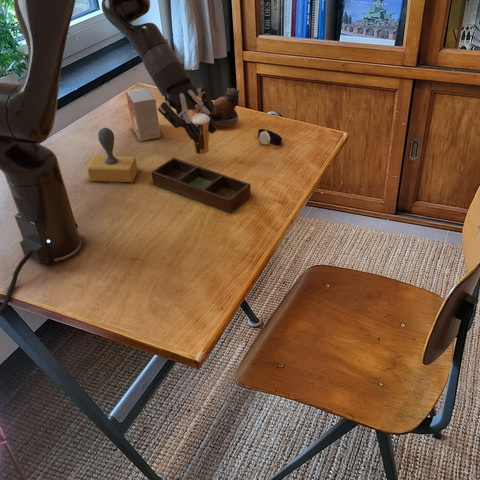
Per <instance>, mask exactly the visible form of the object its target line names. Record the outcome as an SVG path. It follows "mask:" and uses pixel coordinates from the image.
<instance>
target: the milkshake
mask: <svg viewBox="0 0 480 480" xmlns="http://www.w3.org/2000/svg"><path fill="white" fill-rule="evenodd" d="M202 108H203V106H202ZM189 119H190V123H192V124H193V125H194V127H195V129H196V130H197V132H198V134H199V135H200V138H199V139H198V140H197V141H193V140H192V143H193V149H194V152H195V153H196V154H198V155H205V154H208V153H209V150H210V148H209V147H210V132H209V124H210V118H209V116H207V115H206V114H203V111H202V110H201V113H194V114H192V115H191V116H189Z"/></svg>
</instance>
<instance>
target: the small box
mask: <svg viewBox="0 0 480 480" xmlns="http://www.w3.org/2000/svg"><path fill="white" fill-rule="evenodd" d="M125 95H126V101H127V105H128V111H129V112H128V113H129V117H130V122H131V127H132V130H133V131H134V133H135V135H136V136H137V138H138V140H139V142H143V141H149V140H153V139H158V138H161V137H162V136H161V130H160V122H159V114H158V108H157V101H156V98H155V96H153V94H152V93H151V91H150V90H149V88H148V87H146V86H145V87H140V88H135V89H134V88H133V89H128V90H125Z"/></svg>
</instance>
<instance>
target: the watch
mask: <svg viewBox="0 0 480 480" xmlns="http://www.w3.org/2000/svg"><path fill="white" fill-rule="evenodd" d="M257 137H258V138H259V141H260V143H261V144H262V145H272V146H276V147H279V146H282V142H283V137H282V136H281V135H280V134H278V133H276V132H274V131H271V130H269V129H265V128H259V129H258V131H257Z"/></svg>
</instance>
